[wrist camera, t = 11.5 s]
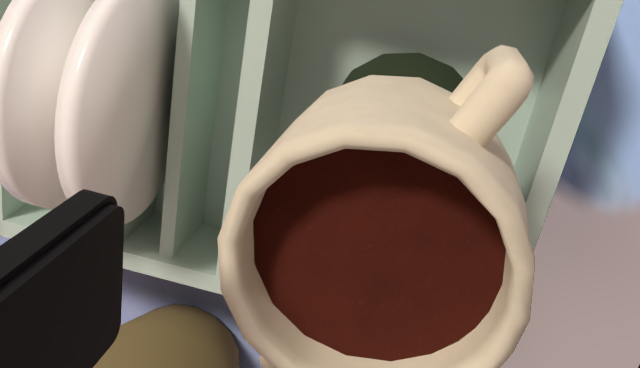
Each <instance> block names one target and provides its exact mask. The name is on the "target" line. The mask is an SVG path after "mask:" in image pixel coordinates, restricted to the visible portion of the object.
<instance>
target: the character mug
mask: <svg viewBox="0 0 640 368" xmlns="http://www.w3.org/2000/svg"><path fill="white" fill-rule="evenodd" d="M533 80H534V75H533V73H532V71H531V70H530V68H529V66H528V64H527V62H526V61H525V59H524V58H523V57H522V55H521V54H520V52H519V51H518V50H517V48H514V47H509V46H504V45H500V46H497V47H495V48H494V49H492V50H490V51H489V52H487V53H485V54H484V55H483V56H482V57H481V58H480V60H479V61H478V62H477V63H476V64H475V65H474V67H473V68H472V69H471V70H470V72H469V73H468V74H467V75H466V77H465V78H464V79H463V78H462V77H461V75H460V74H459V73H458V72H457V71H456V70H455V69H454V67H451V66H449V65H447V64H445V63H442V62H440V61H438V60H435V59H433V58H431V57H428V56H426V55H424V54H422V53H392V54H382V55H380V56H378V57H376V58H374V59H372V60H370V61H368V62H367V63H365V64H363V65H361V66H359V67H357V68H355V69H353V70H352V71H351V72H350V74H349V75H348V77H347V78H346V79H345V81H344V82H343V84H342V85H341V86H338V87H335V88H333V89H330V90H327V91H326V92H325V93H324V94H322V95H321V96H320V97H319V98H318V99H317V100H316V101H315V102H314V103H313V104H312V105H311V106H310V107H309V108H307V109H306V110H305V111H304V112H303V113H302V114H301V115H300V116H299V117H298V118H297V119H296V120H295V121H294V122H293V123H292V124H291V125H290V126H289V127H288V129H287V130H286V131H285V132H284V133H283V134H282V135H281V136H280V138H279V139H278V140H277V141H276V142H275V143H274V144H273V146H272V147H271V148H270V149H269V150H268V151H267V152H266V154H265V155H264V156H263V157H262V158H261V159H260V160H259V162H258V163H257V164H256V165H255V166H254V167H253V168H252V169H251V171H250V172H249V173H248V174H247V175H246V176H245V177H244V179H243V180H242V181H241V183H240V184H239V186H238V187H237V189H236V192H235V194H234V197H233V199H232V202H231V204H230V207H229V210H228V212H227V215H226V217H225V220H224V222H223V225H222V228H221V230H220V233H219V235H218V238H217V240H218V255H219V271H220V286H221V292H222V294H223V296H224V299H225V301H226V303H227V305H228V307H229V309H230V311H231V313H232V315H233V317H234V319H235V321H236V323H237V325H238V327H239V329H240V332H241V334H242V336H243V338H244V339H245V340H246V341H247V342H248V343H249V344H250V345H251V346H252V347H253V348H254V349H255V350H256V351H257V352H258V353H259V354H260V359H259V361H260V363H261V365H262V367H263V368H500V367H501V366H502V365H503V364H504V362H505V361H506V360H507V359H508V358H509V356H510V355H511V354H512V353H513V351H514V349H515V348H516V346H517V344H518V342H519V340H520V338H521V336H522V334H523V332H524V330H525V328H526V326H527V324H528V322H529V320H530V311H531V299H532V289H533V279H534V267H535V265H534V264H535V263H534V260H535V257H534V254H533V250H532V247H531V244H530V241H529V237H528V225H527V213H526V203H525V200H524V198H523V195H522V192H521V189H520V186H519V183H518V180H517V175H516V172H515V170H514V167H513V164H512V161H511V159H510V157H509V155H508V153H507V151H506V149H505V148H504V146H503V144H502V142H501V140H500V139H499V137H498V136H497V135H496V134H497V133H498V132H499V131H500V130H501V128H502V127H503V126H504V125H505V124H506V123H507V122H508V121H509V119H510V118H511V117H512V116H513V115H514V114H515V113H516V111H517V110H518V109H519V108H520V107H521V105H522V104H523V103H524V101H525V100H526V99H527V97H528V95H529V92H530V90H531V88H532V85H533Z"/></svg>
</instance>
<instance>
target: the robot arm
mask: <svg viewBox="0 0 640 368" xmlns="http://www.w3.org/2000/svg"><path fill="white" fill-rule="evenodd" d="M124 218H125V214H124V209H123V208H122V207H121V206H118V205H117V201H116V199H115V198H114V197H113V196H109V195H106V194H102V193H98V192H94V191H90V190H86V189H83V190H81V191H79V192H77V193H76V194H74V195H73V196H71V197H70V198H69V199H67V200H66V201H64V202H63V203H61V204H60V205H58V206H57V207H56V208H54V209H53V210H51V211H50V212H48V213H47V214H45V215H44V216H43V217H41V218H40V219H38V220H37V221H35V222H34V223H32V224H31V225H30V226H28V227H27V228H25V229H24V230H22V231H21V232H19V233H18V234H17V235H15V236H14V237H12V238H11V239H9V240H8V241H6V242H5V243H4V244H2V245H1V246H0V368H93V367H94V366H95V365H96V363H97V362H98V361H99V360H100V359H101V357H102V356H103V355H104V354H105V353H106V351H107V350H108V349H109V348H110V347H111V345H112V344H113V343H114V341H115V339H116V338H117V335H118V333H119V329H120V324H121V300H122V273H123V246H124ZM638 368H640V365H639V367H638Z"/></svg>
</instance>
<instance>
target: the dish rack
mask: <svg viewBox="0 0 640 368" xmlns="http://www.w3.org/2000/svg"><path fill="white" fill-rule="evenodd" d="M11 1H12V0H0V21H1V19H2V17H3V15H4V13H5V11H6V9H7V7H8V6H9V4H10V3H11ZM623 1H624V0H180V3H179V15H178V27H177V40H176V52H175V64H174V76H173V89H172V101H171V113H170V126H169V138H168V150H167V162H166V175H165V182H164V184H163V186H162V188H161V189H160V191H159V193H158V194H157V196H156V197H155V198H154V200H153V201H152V202H151V204H150V205H149V206H148V207H147V209H146V210H144V211H143V212H142V213H141V214H140V215H139V216H138V217H137V218H135V219H134V220H132V221H130V222H128V223H126V224H124V246H123V269H127V270H131V271H135V272H139V273H142V274H146V275H150V276H154V277H157V278H161V279H165V280H169V281H172V282H176V283H180V284H184V285H188V286H191V287H195V288H199V289H203V290H206V291H210V292H214V293H218V294H221V295H223V294H222V292H221V286H220V271H219V255H218V240H217V238H218V235H219V233H220V230H221V228H222V225H223V222H224V220H225V217H226V215H227V212H228V210H229V207H230V204H231V202H232V199H233V197H234V194H235V192H236V189H237V187H238V186H239V184H240V183H241V181H242V180H243V179H244V177H245V176H246V175H247V174H248V173H249V172H250V171H251V169H252V168H253V167H254V166H255V165H256V164H257V163H258V162H259V160H260V159H261V158H262V157H263V156H264V155H265V154H266V152H267V151H268V150H269V149H270V148H271V147H272V146H273V144H274V143H275V142H276V141H277V140H278V139H279V138H280V136H281V135H282V134H283V133H284V132H285V131H286V130H287V129H288V127H289V126H290V125H291V124H292V123H293V122H294V121H295V120H296V119H297V118H298V117H299V116H300V115H301V114H302V113H303V112H304V111H305V110H306V109H307V108H309V107H310V106H311V105H312V104H313V103H314V102H315V101H316V100H317V99H318V98H319V97H320V96H321V95H322V94H324V93H325V92H326V91H327V90H330V89H333V88H335V87H338V86H341V85H342V84H343V82H344V81H345V79H346V78H347V77H348V75H349V74H350V72H351V71H352V70H353V69H355V68H357V67H359V66H361V65H363V64H365V63H367V62H368V61H370V60H372V59H374V58H376V57H378V56H380V55H382V54H392V53H422V54H424V55H426V56H428V57H431V58H433V59H435V60H438V61H440V62H442V63H445V64H447V65H449V66H451V67H454V69H455V70H456V71H457V72H458V73H459V74H460V75H461V77H462V78H463V79H464V78H465V77H466V75H467V74H468V73H469V72H470V70H471V69H472V68H473V67H474V65H475V64H476V63H477V62H478V61H479V60H480V58H481V57H482V56H483V55H484V54H485V53H487V52H489V51H490V50H492V49H494V48H495V47H497V46H500V45H504V46H509V47H514V48H517V50H518V51H519V52H520V54H521V55H522V57H523V58H524V59H525V61H526V62H527V64H528V66H529V68H530V70H531V71H532V73H533V75H534V80H533V85H532V88H531V90H530V92H529V95H528V97H527V99H526V100H525V101H524V103H523V104H522V105H521V107H520V108H519V109H518V110H517V111H516V113H515V114H514V115H513V116H512V117H511V118H510V119H509V121H508V122H507V123H506V124H505V125H504V126H503V127H502V128H501V130H500V131H499V132H498V133H497V134H496V135H497V136H498V137H499V139H500V140H501V142H502V144H503V146H504V148H505V149H506V151H507V153H508V155H509V157H510V159H511V161H512V164H513V167H514V170H515V172H516V175H517V180H518V183H519V186H520V189H521V192H522V195H523V198H524V200H525V203H526V213H527V225H528V237H529V241H530V244H531V247H532V250H533V251H534V249H535V246H536V243H537V240H538V238H539V235H540V232H541V229H542V227H543V224H544V221H545V218H546V215H547V213H548V210H549V207H550V204H551V202H552V198H553V196H554V193H555V190H556V188H557V185H558V182H559V179H560V176H561V174H562V171H563V168H564V165H565V163H566V160H567V157H568V154H569V151H570V149H571V146H572V143H573V140H574V137H575V135H576V132H577V129H578V126H579V124H580V121H581V118H582V115H583V112H584V110H585V107H586V104H587V101H588V98H589V96H590V93H591V90H592V87H593V85H594V82H595V79H596V76H597V73H598V71H599V68H600V65H601V62H602V59H603V57H604V54H605V51H606V48H607V46H608V43H609V40H610V37H611V34H612V32H613V29H614V26H615V23H616V20H617V18H618V15H619V12H620V9H621V7H622V4H623ZM51 210H52V209H47V208H43V207H39V206H35V205H31V204H28V203H25V202H22V201H20V200H18V199H17V198H15V197H13V196H12V195H11V194H10V193H9V192H8V191H7V190H6V189H5V188H4V187H3V186H2V184H1V183H0V236H3V237H7V238H10V239H11V238H12V237H14V236H15V235H17V234H18V233H19V232H21V231H22V230H24V229H25V228H27V227H28V226H30V225H31V224H32V223H34V222H35V221H37V220H38V219H40V218H41V217H43V216H44V215H45V214H47V213H48V212H50V211H51Z"/></svg>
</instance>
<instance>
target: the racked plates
mask: <svg viewBox="0 0 640 368" xmlns="http://www.w3.org/2000/svg"><path fill="white" fill-rule="evenodd" d="M179 3H180V0H12V1H11V3H10V4H9V6H8V7H7V9H6V11H5V13H4V15H3V17H2V19H1V21H0V183H1V184H2V186H3V187H4V188H5V189H6V190H7V191H8V192H9V193H10V194H11V195H12V196H13V197H15V198H17V199H18V200H20V201H22V202H25V203H28V204H31V205H35V206H39V207H43V208H47V209H52V210H53V209H54V208H56V207H57V206H58V205H60V204H61V203H63V202H64V201H66V200H67V199H69V198H70V197H71V196H73V195H74V194H76V193H77V192H79V191H81V190H83V189H86V190H90V191H94V192H98V193H102V194H106V195H109V196H113V197H114V198H115V199H116V201H117V205H118V206H121V207H122V208H123V209H124V214H125V218H124V224H126V223H128V222H130V221H132V220H134V219H135V218H137V217H138V216H139V215H140V214H141V213H142V212H143V211H144V210H146V209H147V207H148V206H149V205H150V204H151V202H152V201H153V200H154V198H155V197H156V196H157V194H158V193H159V191H160V189H161V188H162V186H163V184H164V182H165V175H166V162H167V150H168V138H169V126H170V113H171V101H172V89H173V76H174V64H175V52H176V40H177V27H178V15H179Z"/></svg>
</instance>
